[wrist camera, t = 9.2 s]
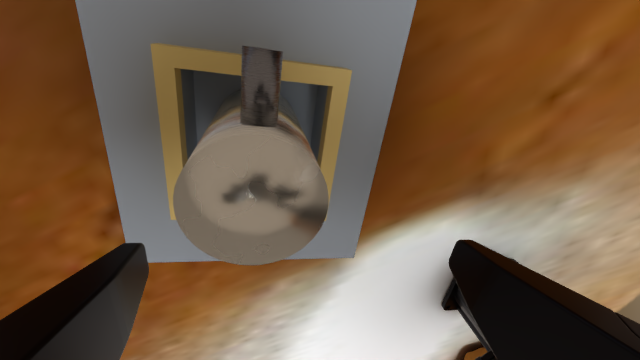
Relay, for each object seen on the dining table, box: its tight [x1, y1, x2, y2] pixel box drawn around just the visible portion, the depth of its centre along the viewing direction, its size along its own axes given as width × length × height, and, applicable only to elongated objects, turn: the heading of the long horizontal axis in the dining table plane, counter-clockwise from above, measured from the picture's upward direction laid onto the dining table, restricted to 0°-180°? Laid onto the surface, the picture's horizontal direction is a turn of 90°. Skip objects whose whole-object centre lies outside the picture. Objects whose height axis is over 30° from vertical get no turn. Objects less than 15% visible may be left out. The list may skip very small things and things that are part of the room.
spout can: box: [173, 45, 329, 265], centre depth 12 cm, size 7×5×9 cm
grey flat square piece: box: [75, 0, 417, 262], centre depth 16 cm, size 16×14×4 cm
